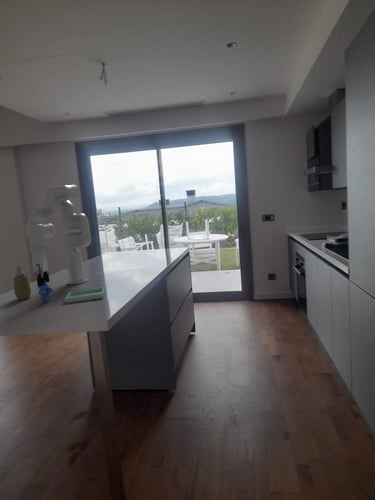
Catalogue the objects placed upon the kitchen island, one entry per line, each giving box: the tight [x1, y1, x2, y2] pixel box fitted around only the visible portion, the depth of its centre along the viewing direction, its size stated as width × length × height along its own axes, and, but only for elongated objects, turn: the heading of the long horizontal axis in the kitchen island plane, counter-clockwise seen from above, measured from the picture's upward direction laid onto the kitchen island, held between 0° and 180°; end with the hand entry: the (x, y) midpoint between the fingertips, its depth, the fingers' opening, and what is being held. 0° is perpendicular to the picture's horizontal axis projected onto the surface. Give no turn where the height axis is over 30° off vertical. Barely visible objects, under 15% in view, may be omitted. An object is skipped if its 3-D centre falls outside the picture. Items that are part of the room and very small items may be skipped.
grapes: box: [37, 280, 53, 303], centre depth 167 cm, size 12×7×12 cm, turn 12°
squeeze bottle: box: [13, 265, 32, 301], centre depth 179 cm, size 8×8×18 cm
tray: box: [64, 286, 106, 304], centre depth 170 cm, size 14×18×2 cm
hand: (43, 283), depth 165 cm, fingers closed on grapes, 8 cm apart
